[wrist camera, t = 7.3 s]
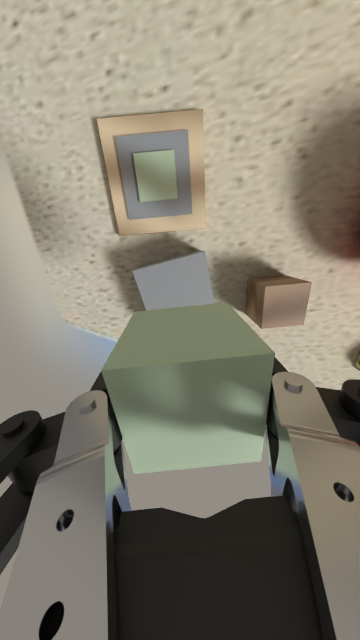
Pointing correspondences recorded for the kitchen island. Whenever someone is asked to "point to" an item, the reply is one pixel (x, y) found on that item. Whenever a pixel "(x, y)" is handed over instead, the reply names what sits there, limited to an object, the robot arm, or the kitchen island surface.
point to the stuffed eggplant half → (358, 362)
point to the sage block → (190, 388)
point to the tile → (155, 170)
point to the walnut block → (277, 301)
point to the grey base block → (175, 282)
